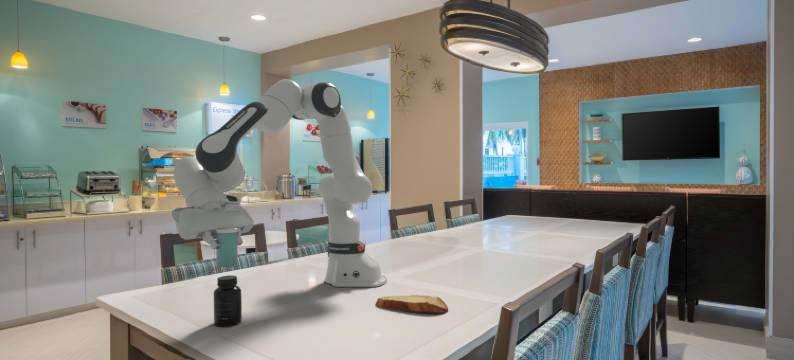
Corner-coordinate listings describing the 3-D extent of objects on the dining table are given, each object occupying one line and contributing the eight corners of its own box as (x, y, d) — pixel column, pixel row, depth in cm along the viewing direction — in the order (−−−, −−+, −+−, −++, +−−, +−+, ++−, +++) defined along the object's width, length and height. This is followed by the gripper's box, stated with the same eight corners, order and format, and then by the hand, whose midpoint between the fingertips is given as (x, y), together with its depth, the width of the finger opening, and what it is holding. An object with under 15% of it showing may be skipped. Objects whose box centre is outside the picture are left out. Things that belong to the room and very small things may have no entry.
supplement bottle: (218, 319, 121) (218, 274, 121) (244, 318, 122) (244, 274, 122) (210, 328, 114) (209, 280, 114) (237, 327, 115) (237, 280, 115)
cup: (242, 263, 120) (242, 227, 120) (230, 267, 115) (230, 230, 114) (223, 262, 121) (223, 227, 121) (211, 266, 116) (211, 229, 115)
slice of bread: (371, 304, 136) (371, 291, 136) (424, 297, 144) (424, 285, 144) (396, 322, 120) (396, 308, 120) (454, 313, 128) (454, 300, 127)
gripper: (173, 200, 113) (195, 242, 108) (244, 196, 130) (266, 233, 124) (164, 216, 116) (185, 259, 110) (234, 211, 132) (255, 248, 127)
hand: (228, 245), depth 117 cm, fingers closed on cup, 5 cm apart
